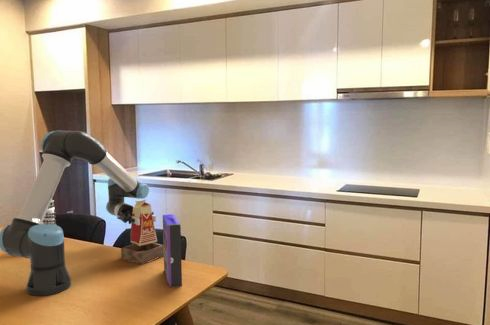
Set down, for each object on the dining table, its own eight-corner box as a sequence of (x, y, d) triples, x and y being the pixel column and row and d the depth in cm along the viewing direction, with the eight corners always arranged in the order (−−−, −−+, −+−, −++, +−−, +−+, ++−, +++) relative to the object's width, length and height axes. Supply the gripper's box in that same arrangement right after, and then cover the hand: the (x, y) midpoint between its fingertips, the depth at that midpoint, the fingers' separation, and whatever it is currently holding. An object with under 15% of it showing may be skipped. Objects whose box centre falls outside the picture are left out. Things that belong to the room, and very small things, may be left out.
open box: (164, 255, 187) (164, 245, 186) (141, 264, 175) (141, 253, 175) (144, 250, 194) (143, 240, 194) (121, 258, 183) (121, 248, 182)
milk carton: (157, 241, 185) (156, 198, 182) (139, 246, 178) (138, 201, 176) (146, 237, 191) (145, 196, 189) (128, 241, 184) (127, 198, 182)
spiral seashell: (37, 246, 200) (34, 197, 198) (58, 244, 204) (55, 196, 202) (37, 252, 192) (33, 201, 190) (58, 249, 196) (55, 199, 193)
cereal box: (164, 270, 168) (162, 214, 166) (175, 269, 170) (174, 213, 167) (169, 287, 152) (167, 225, 149) (181, 285, 153) (180, 224, 151)
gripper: (144, 215, 203) (167, 224, 186) (105, 222, 190) (126, 233, 173) (143, 201, 203) (166, 208, 185) (104, 207, 189) (125, 216, 172)
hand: (147, 220), depth 179 cm, fingers closed on milk carton, 7 cm apart
